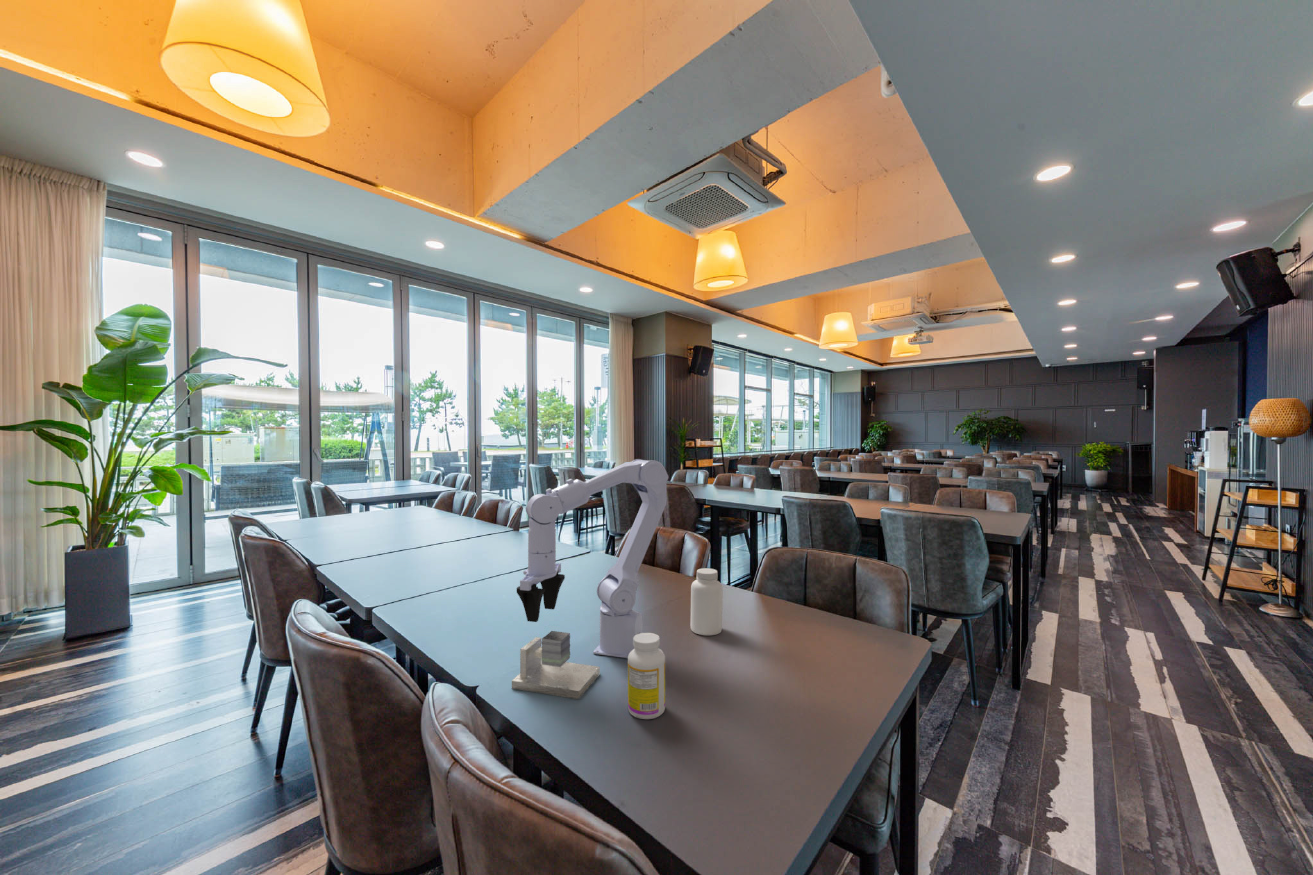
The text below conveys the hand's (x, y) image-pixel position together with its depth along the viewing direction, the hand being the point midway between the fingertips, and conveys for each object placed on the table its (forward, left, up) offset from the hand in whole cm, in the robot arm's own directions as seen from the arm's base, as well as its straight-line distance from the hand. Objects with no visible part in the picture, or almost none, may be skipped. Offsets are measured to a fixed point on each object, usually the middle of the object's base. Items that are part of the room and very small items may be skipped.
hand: (541, 614), depth 103 cm
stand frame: (-7, +6, -10) cm, 14 cm away
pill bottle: (-31, -28, -11) cm, 43 cm away
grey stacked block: (-7, +6, -6) cm, 11 cm away
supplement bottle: (-27, +11, -11) cm, 31 cm away
